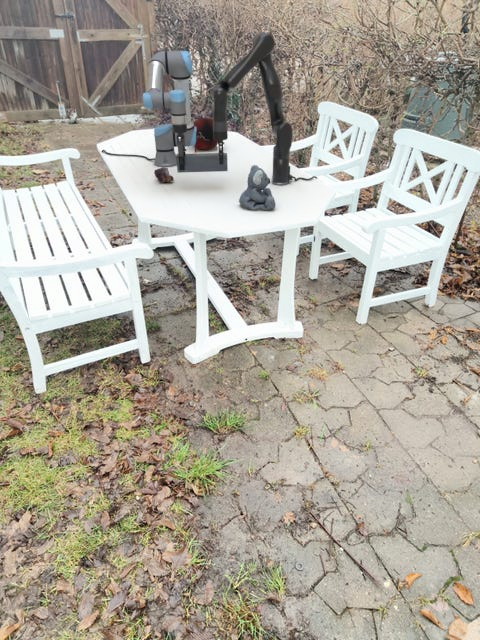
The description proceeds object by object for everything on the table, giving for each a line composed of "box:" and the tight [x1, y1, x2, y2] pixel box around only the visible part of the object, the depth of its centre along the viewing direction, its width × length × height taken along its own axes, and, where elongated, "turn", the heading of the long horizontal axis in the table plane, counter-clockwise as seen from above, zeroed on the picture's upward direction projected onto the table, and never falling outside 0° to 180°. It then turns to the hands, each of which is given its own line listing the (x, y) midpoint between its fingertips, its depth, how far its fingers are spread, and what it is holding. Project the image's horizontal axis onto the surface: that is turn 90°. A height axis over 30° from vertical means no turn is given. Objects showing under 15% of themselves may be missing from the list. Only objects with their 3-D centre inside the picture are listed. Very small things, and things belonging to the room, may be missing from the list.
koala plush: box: [238, 164, 276, 211], centre depth 224 cm, size 17×18×20 cm
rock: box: [153, 167, 175, 184], centre depth 260 cm, size 12×9×10 cm
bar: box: [176, 152, 229, 174], centre depth 243 cm, size 27×4×9 cm, turn 92°
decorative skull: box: [193, 117, 218, 153], centre depth 321 cm, size 21×24×25 cm
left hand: (182, 166), depth 244 cm, fingers open, 11 cm apart
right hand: (221, 162), depth 244 cm, fingers closed on bar, 4 cm apart
